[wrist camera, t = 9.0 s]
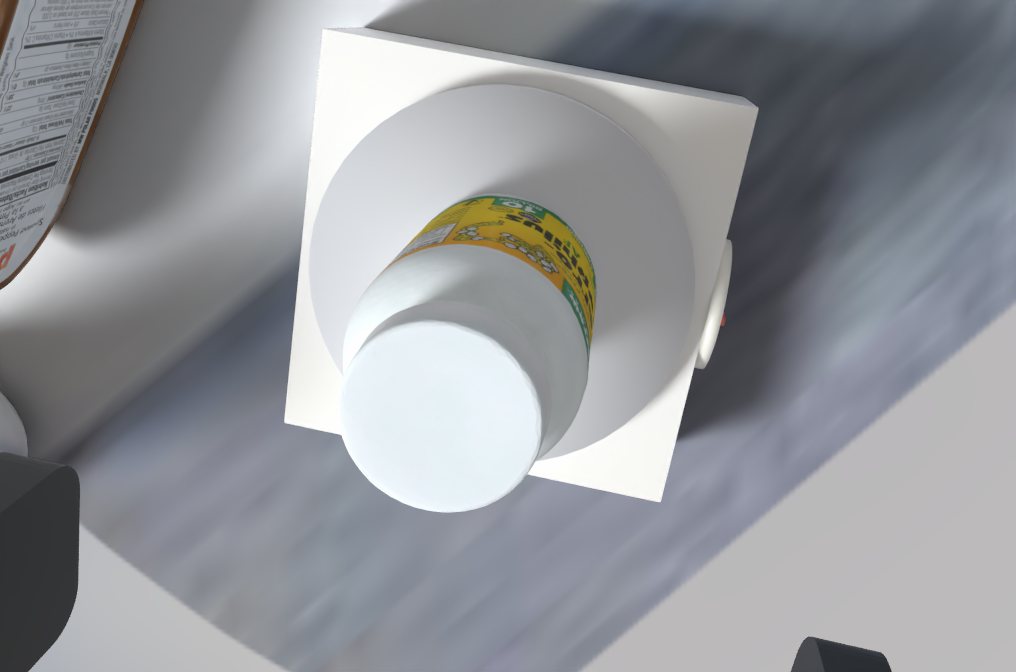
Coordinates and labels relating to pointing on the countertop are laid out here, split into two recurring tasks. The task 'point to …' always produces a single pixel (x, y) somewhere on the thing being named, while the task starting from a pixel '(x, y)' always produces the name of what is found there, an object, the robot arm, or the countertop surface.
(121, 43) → the tin
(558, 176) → the kitchen scale
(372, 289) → the supplement bottle
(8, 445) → the plastic bottle
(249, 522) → the countertop surface
